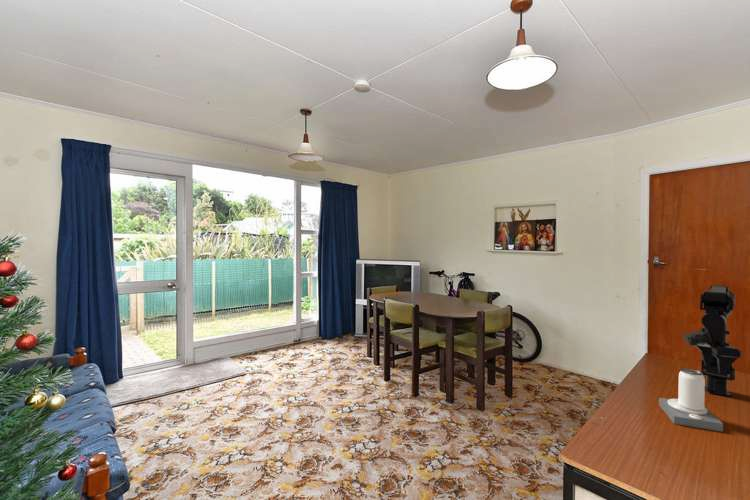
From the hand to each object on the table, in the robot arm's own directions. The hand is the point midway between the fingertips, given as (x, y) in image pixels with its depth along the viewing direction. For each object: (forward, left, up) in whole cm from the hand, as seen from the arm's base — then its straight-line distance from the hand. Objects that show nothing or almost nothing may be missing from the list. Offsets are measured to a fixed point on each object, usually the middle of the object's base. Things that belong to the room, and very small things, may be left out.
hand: (714, 370), depth 123 cm
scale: (+14, -12, -13) cm, 22 cm away
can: (+13, -11, -10) cm, 19 cm away
